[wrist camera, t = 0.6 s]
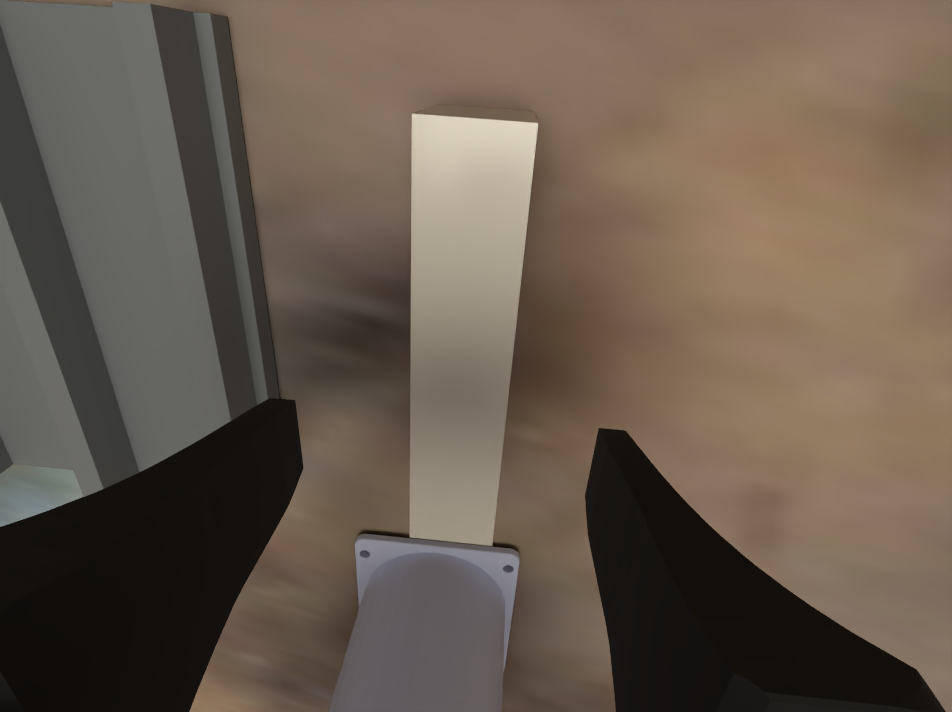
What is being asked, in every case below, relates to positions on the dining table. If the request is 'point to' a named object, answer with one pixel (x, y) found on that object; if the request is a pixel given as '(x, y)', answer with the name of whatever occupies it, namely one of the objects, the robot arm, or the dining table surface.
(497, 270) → the clay bar
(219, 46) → the grooved grey tray
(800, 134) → the dining table surface
